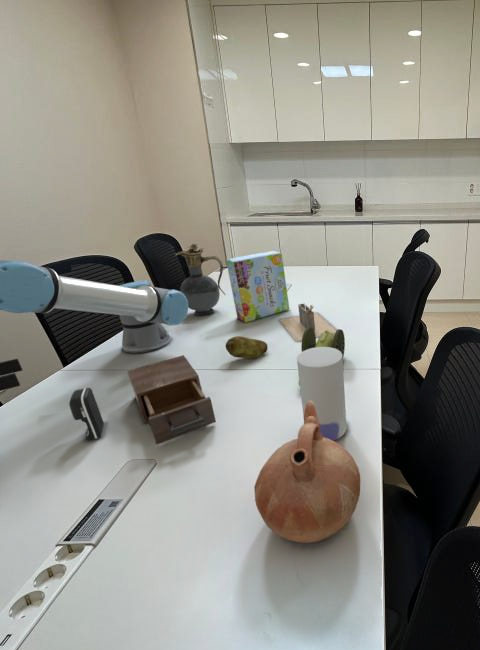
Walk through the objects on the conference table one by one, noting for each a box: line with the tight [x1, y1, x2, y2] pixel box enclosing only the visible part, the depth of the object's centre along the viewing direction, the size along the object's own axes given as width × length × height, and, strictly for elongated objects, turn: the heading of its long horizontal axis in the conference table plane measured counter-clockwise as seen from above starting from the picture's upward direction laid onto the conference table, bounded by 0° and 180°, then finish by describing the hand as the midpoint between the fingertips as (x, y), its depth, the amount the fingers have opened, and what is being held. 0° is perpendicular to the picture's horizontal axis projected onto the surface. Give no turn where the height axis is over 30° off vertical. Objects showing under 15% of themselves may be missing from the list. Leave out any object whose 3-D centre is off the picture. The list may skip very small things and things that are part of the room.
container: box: [296, 347, 348, 442], centre depth 90 cm, size 10×10×20 cm
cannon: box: [298, 328, 346, 387], centre depth 119 cm, size 25×12×11 cm, turn 168°
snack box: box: [225, 250, 290, 324], centre depth 164 cm, size 22×9×26 cm, turn 133°
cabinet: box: [126, 354, 203, 424], centre depth 106 cm, size 16×15×9 cm
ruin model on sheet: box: [279, 303, 337, 342], centre depth 153 cm, size 25×16×10 cm, turn 27°
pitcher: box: [175, 243, 226, 316], centre depth 167 cm, size 11×19×30 cm, turn 118°
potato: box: [225, 335, 268, 360], centre depth 129 cm, size 8×13×8 cm, turn 102°
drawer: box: [143, 380, 217, 445], centre depth 94 cm, size 19×13×7 cm
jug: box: [253, 401, 361, 544], centre depth 67 cm, size 18×18×20 cm
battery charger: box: [68, 387, 105, 441], centre depth 92 cm, size 7×4×11 cm, turn 26°
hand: (18, 371), depth 82 cm, fingers open, 8 cm apart
